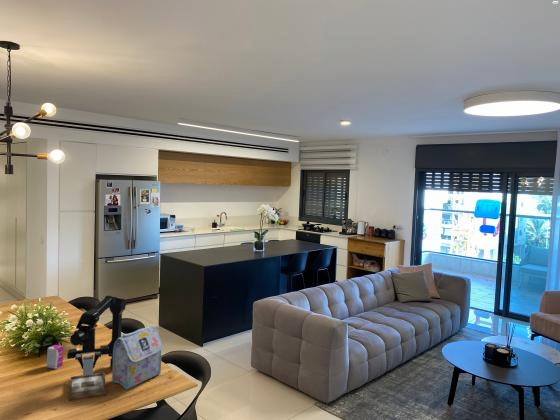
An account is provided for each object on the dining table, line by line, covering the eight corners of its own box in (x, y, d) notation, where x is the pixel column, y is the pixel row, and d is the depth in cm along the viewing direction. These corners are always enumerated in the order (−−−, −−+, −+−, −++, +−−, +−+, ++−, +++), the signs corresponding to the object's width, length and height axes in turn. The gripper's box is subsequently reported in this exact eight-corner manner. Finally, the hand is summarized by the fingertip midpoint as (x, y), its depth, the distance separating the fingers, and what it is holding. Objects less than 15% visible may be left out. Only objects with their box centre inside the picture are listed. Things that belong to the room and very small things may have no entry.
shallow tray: (104, 378, 218) (104, 372, 218) (105, 395, 202) (105, 388, 202) (70, 383, 212) (70, 376, 211) (68, 400, 195) (68, 393, 195)
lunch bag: (129, 392, 205) (131, 341, 204) (108, 382, 214) (110, 333, 213) (164, 376, 224) (166, 328, 223) (144, 367, 233) (145, 321, 232)
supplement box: (55, 369, 225) (56, 349, 225) (46, 368, 226) (46, 348, 226) (63, 365, 231) (63, 345, 230) (54, 364, 232) (54, 344, 231)
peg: (93, 370, 209) (93, 355, 209) (93, 374, 205) (93, 359, 205) (83, 371, 207) (83, 356, 207) (83, 375, 203) (83, 360, 203)
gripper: (108, 330, 216) (107, 359, 217) (68, 334, 208) (68, 364, 210) (109, 338, 206) (108, 368, 207) (67, 342, 198) (66, 373, 199)
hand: (88, 368), depth 206 cm, fingers closed on peg, 4 cm apart
